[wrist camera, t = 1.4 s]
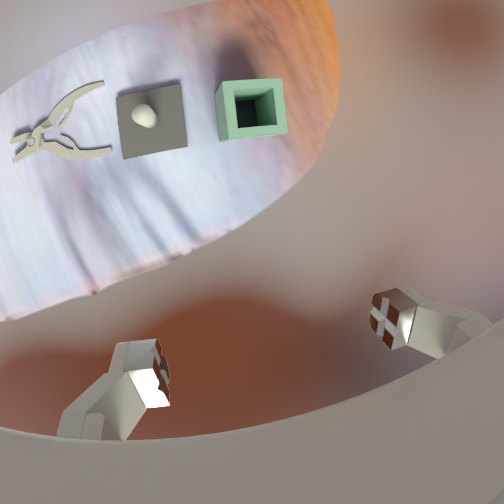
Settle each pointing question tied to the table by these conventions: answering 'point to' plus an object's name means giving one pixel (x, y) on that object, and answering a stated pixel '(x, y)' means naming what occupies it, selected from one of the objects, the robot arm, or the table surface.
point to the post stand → (151, 121)
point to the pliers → (38, 142)
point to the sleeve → (266, 103)
